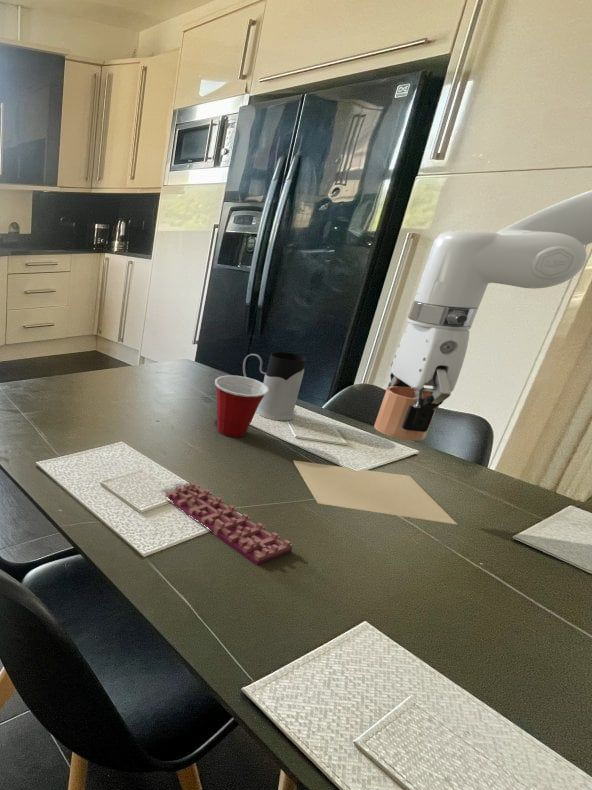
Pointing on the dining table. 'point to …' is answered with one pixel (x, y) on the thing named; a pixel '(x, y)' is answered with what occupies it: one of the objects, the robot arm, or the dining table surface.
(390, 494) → the mat
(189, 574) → the dining table surface
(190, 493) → the maroon flat bar
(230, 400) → the plastic cup
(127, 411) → the dining table surface
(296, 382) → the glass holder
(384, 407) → the peach cup
